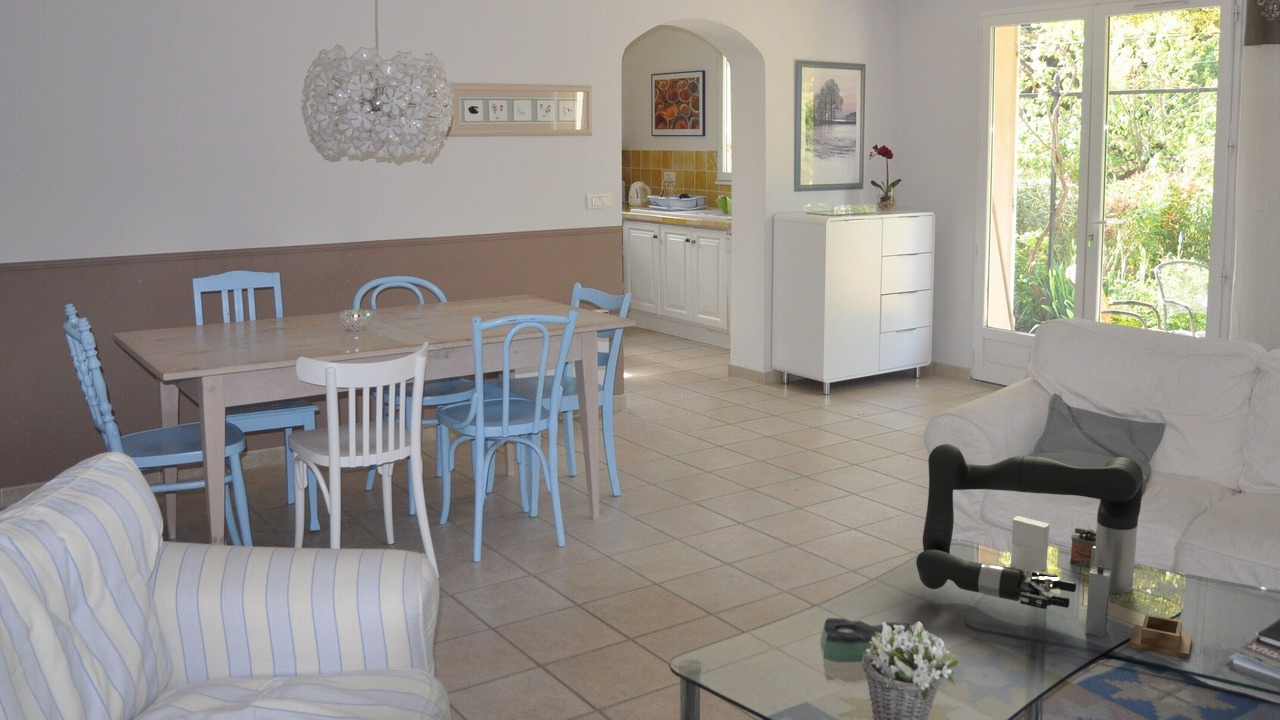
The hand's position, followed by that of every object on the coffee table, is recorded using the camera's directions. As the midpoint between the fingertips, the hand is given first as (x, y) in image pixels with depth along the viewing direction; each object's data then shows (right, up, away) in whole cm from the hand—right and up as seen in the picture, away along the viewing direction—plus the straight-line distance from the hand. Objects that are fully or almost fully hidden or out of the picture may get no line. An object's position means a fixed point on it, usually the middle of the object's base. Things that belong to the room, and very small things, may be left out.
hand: (1072, 595), depth 260 cm
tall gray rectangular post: (+5, -8, -1) cm, 10 cm away
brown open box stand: (+17, -9, -7) cm, 21 cm away
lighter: (+16, +1, +32) cm, 36 cm away
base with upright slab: (+2, +1, +34) cm, 35 cm away
